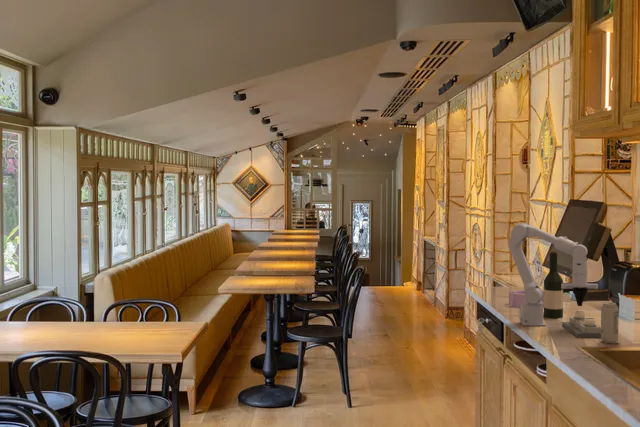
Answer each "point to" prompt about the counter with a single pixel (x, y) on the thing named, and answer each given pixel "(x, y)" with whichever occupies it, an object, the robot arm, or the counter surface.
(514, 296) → the pink rectangular box
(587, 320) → the knob
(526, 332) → the counter surface
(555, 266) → the wine bottle
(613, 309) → the energy drink can
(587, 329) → the mount board
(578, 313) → the knob
